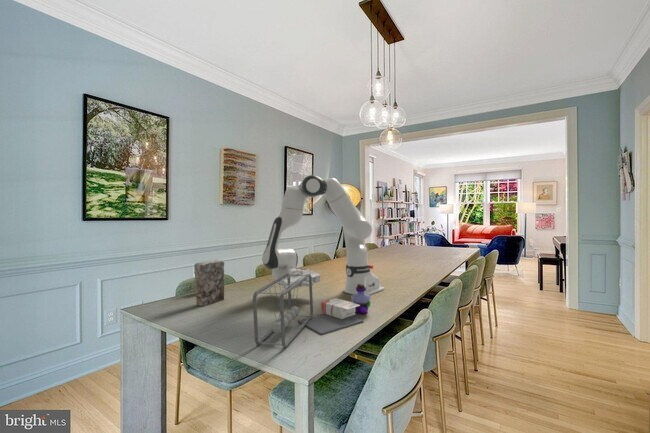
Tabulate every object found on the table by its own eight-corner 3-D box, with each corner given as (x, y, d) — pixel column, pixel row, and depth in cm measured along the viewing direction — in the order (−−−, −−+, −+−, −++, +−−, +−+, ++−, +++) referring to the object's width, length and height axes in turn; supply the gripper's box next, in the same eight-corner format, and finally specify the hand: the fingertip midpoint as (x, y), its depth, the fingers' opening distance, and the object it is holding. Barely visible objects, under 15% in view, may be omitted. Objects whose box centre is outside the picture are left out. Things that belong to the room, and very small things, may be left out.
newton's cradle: (284, 350, 96) (282, 294, 95) (254, 347, 99) (251, 293, 98) (313, 316, 125) (311, 272, 124) (289, 314, 128) (287, 272, 127)
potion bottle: (370, 316, 126) (370, 287, 125) (349, 315, 128) (349, 286, 127) (372, 309, 134) (371, 282, 134) (352, 308, 136) (352, 281, 136)
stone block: (204, 307, 142) (203, 264, 141) (194, 305, 145) (193, 263, 144) (226, 299, 153) (225, 259, 153) (216, 298, 156) (215, 258, 156)
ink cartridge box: (321, 313, 129) (346, 321, 118) (320, 301, 129) (346, 308, 118) (335, 308, 135) (361, 316, 124) (335, 297, 135) (361, 303, 124)
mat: (338, 311, 132) (338, 310, 132) (363, 322, 119) (363, 320, 119) (298, 321, 121) (298, 320, 121) (321, 335, 108) (321, 333, 108)
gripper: (275, 276, 147) (292, 282, 136) (309, 268, 160) (327, 273, 150) (276, 288, 148) (292, 296, 137) (309, 280, 161) (327, 286, 150)
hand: (310, 284), depth 143 cm, fingers closed
